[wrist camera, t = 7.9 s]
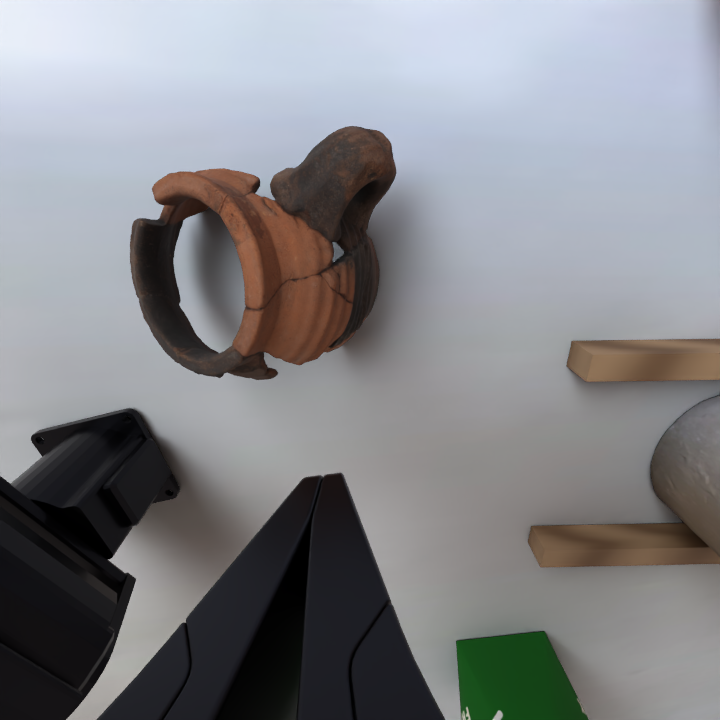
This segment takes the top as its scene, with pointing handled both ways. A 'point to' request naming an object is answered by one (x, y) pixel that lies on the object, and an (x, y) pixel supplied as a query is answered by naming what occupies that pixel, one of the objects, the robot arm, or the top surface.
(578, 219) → the top surface
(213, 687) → the robot arm
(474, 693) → the milk carton
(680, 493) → the pillar candle
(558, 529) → the channel
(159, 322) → the pottery mug
